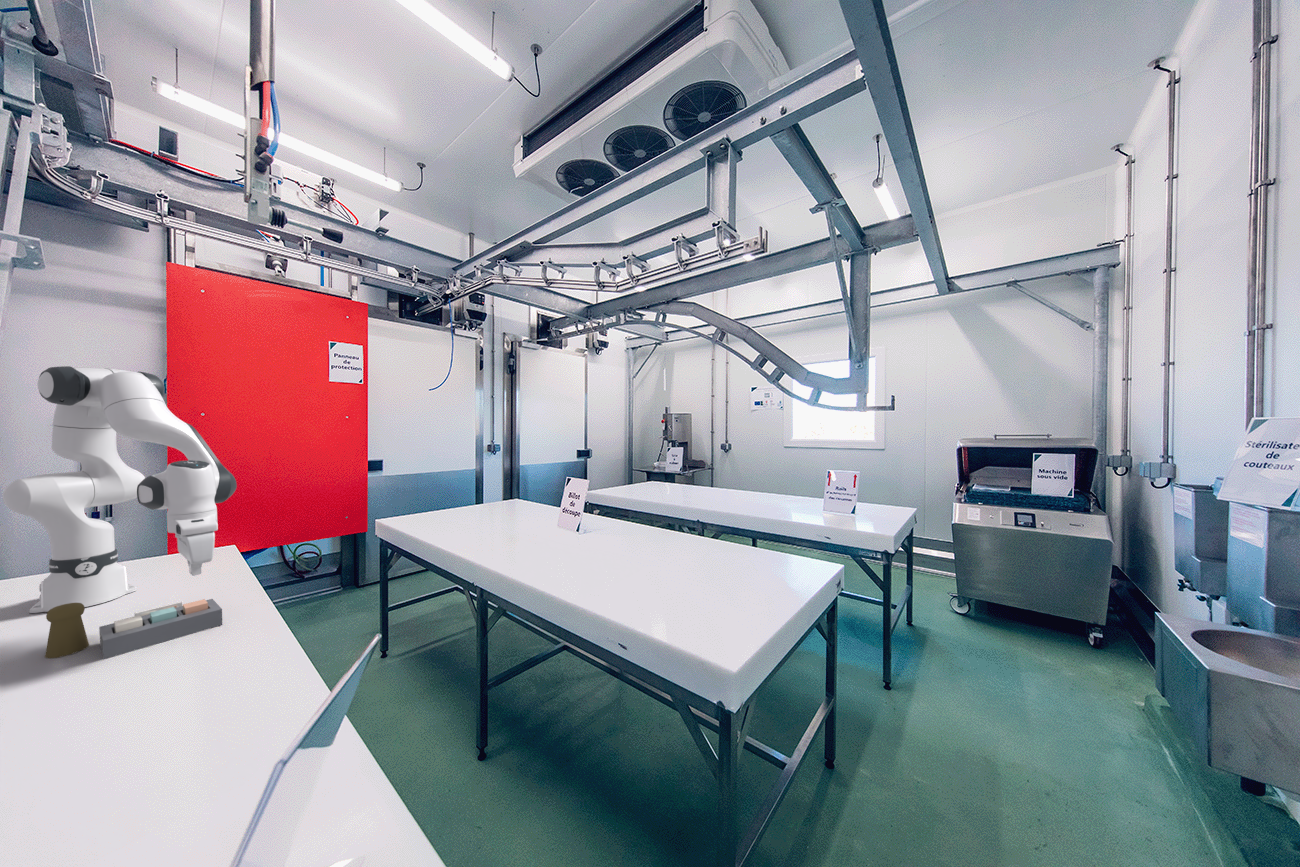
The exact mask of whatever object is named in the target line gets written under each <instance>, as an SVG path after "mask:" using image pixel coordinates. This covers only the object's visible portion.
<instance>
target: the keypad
mask: <svg viewBox="0 0 1300 867" xmlns="http://www.w3.org/2000/svg"><path fill="white" fill-rule="evenodd" d="M205 600H206V601H207V602H208V609H206V610H202V611H198V612H194V613H191V614H187V615H183V602H182V601H178V602H175V603H174V602H173V603H170V604H167V605H162V606H157V607H154V608H150V609H149V608H148V609H145V610H141V611H137V612H134V616H138V615H141V617H142V620H143V626H141V627H137V628H133V629H129V630H126V631H122V632H118V633H114V622H113V623H109V624H106V625H105V624H104V625H101V626H99V628H98V629H99V630H98V631H99V646H100V650H101V654H102V659H103V660H106V659H109V658H113V657H116V656H120V655H124V654H126V653H130V652H134V651H138V650H140V649H144V648H147V647H151V646H155V645H158V644H162V643H164V642H169V641H172V640H175V639H178V638H182V637H185V636H189V635H193V634H196V633H199V632H202V631H206V630H210V629H214V628H216V627H217V628H218V627H221V626H223V609H222V607H221V606H220V605H219V604H218V603H217V602H216V601H215V599H213V598H209V599H205ZM171 607H174V608H175V609H176V611H177V617H175V618H171V619H168V620H164V621H160V622H156V623H152V624H150V612H154V611H158V610H162V609H167V608H171Z"/></svg>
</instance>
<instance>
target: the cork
mask: <svg viewBox="0 0 1300 867" xmlns="http://www.w3.org/2000/svg"><path fill="white" fill-rule="evenodd" d="M85 610H86V607H84V605H83V604H82V603H68V604H64V605H60V606H56V607H54V608H52V609H50V610H49V611H48V612H46V618H45V619H46V621H47V622H49V623H50V626H49V631H48V638H47V642H46V648H45V653H44V654H45V655H44V658H45V659H57V658H61V657H66V656H69V655H72V654H73V655H74V654H77V653H78V652H81V651H84V650H86V649H87V648H88V647H90V642H89V640H88V636H87V632H86V628H85V625H84V621H83V619H82V615H83V614H84V613H85Z"/></svg>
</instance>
